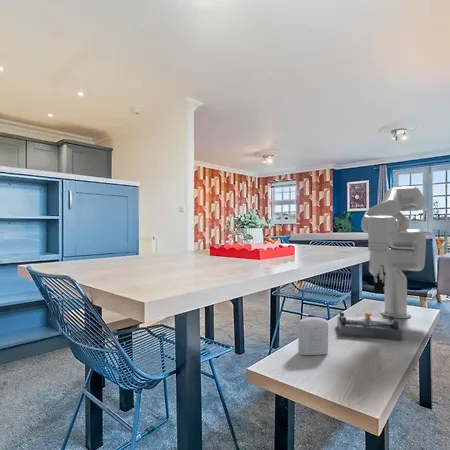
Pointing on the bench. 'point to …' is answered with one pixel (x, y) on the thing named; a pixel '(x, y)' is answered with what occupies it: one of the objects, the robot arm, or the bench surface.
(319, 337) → the photo printer
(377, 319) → the strap
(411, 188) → the robot arm
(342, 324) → the tray
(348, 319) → the strap
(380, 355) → the bench surface
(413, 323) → the bench surface
